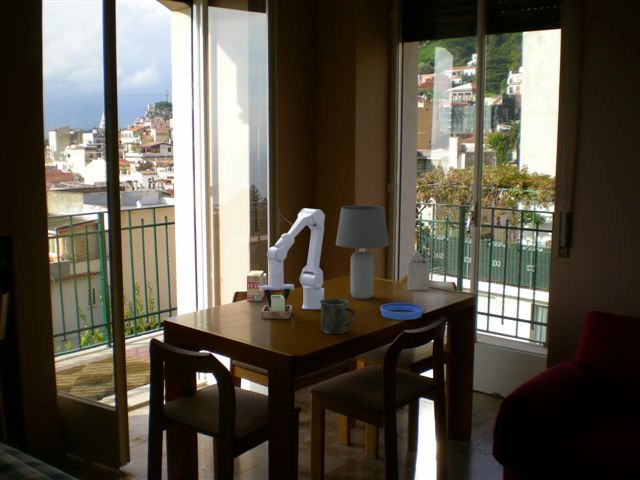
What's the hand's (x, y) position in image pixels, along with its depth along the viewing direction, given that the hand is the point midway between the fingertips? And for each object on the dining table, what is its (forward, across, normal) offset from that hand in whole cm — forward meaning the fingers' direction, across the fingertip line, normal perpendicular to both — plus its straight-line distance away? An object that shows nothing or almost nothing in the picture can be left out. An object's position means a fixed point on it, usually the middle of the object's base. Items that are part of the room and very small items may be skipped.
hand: (276, 306), depth 291 cm
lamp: (+4, -46, -24) cm, 52 cm away
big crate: (+4, 0, 0) cm, 4 cm away
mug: (+4, -18, +32) cm, 36 cm away
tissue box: (+4, -82, -36) cm, 89 cm away
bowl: (+4, -52, +13) cm, 53 cm away
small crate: (+2, 0, 0) cm, 2 cm away
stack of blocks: (+4, +1, -40) cm, 40 cm away
